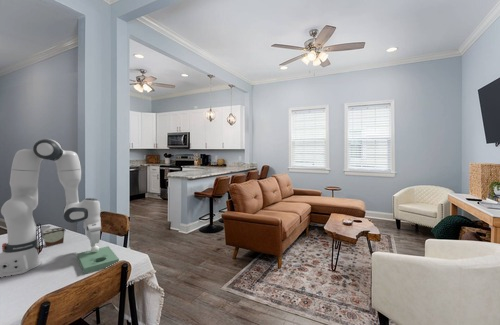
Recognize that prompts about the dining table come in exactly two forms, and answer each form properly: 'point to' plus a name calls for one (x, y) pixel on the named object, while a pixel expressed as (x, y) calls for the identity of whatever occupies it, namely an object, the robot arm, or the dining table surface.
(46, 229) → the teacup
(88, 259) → the putting board
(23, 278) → the dining table surface
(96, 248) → the ball
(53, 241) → the food container
